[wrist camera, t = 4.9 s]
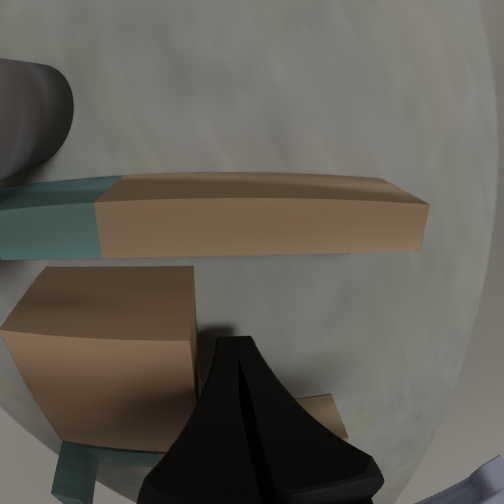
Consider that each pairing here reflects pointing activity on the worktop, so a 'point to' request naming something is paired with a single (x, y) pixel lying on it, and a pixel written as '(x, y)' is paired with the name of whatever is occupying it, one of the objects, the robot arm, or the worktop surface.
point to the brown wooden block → (110, 353)
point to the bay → (174, 224)
